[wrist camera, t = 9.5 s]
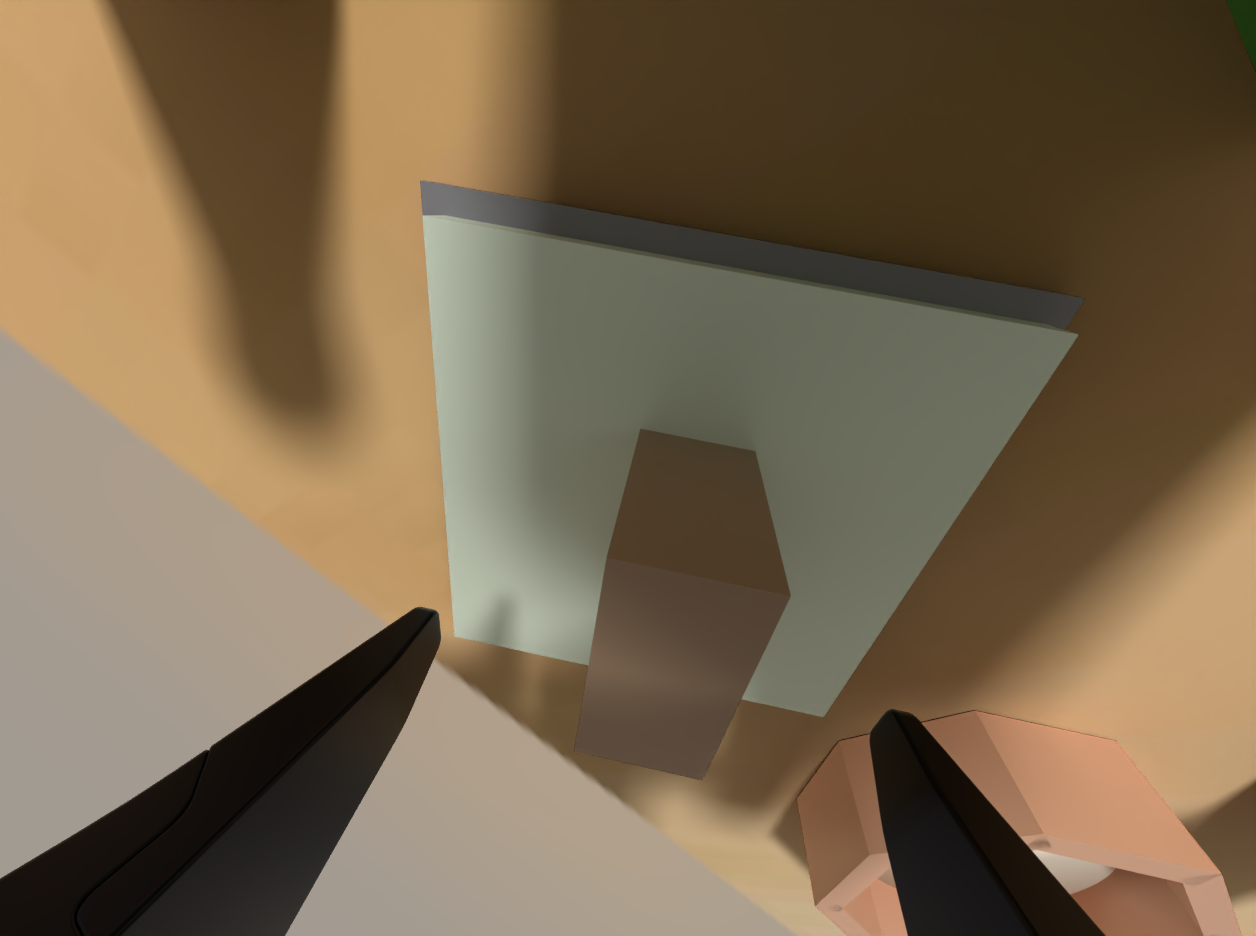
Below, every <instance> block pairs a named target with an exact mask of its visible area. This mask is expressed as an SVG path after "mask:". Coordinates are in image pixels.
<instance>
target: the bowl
mask: <svg viewBox="0 0 1256 936" xmlns="http://www.w3.org/2000/svg"><path fill="white" fill-rule="evenodd" d="M922 724H923V725H924V727H925V728H926V729H927V730H928V731H929V732H930V733H931V735H932V736H933V737H934V738H935V739H936V740H937V741H938V743H939V744H940V745H941V746H942V747H943V748H944V750H945V751H946V752H947V753H948V754H949V755H950V756H951V758H952V759H953V760H954V761H955V762H956V763H957V765H958V766H959V767H960V768H961V769H962V770H963V771H964V773H965V774H966V775H967V776H968V777H969V778H970V780H971V781H972V782H973V783H974V784H975V785H976V786H977V788H978V789H979V790H980V791H981V792H982V793H983V795H984V796H985V797H986V798H987V799H988V800H989V801H990V803H991V804H992V805H993V806H994V807H995V808H996V810H997V811H998V812H999V813H1000V814H1001V815H1002V816H1003V818H1004V819H1005V820H1006V821H1007V822H1008V823H1009V824H1010V826H1011V827H1012V828H1013V829H1014V830H1015V831H1016V833H1017V834H1018V835H1019V836H1020V837H1021V838H1022V839H1023V841H1024V842H1025V843H1026V844H1027V845H1028V846H1029V848H1030V849H1031V850H1032V851H1033V852H1034V853H1035V854H1036V856H1037V857H1038V858H1039V859H1040V860H1041V861H1042V863H1043V864H1044V865H1045V866H1046V867H1047V868H1048V869H1049V871H1050V872H1051V873H1052V874H1053V875H1054V876H1055V878H1056V879H1057V880H1058V881H1059V882H1060V883H1061V884H1062V886H1063V887H1064V888H1065V889H1066V890H1067V891H1068V893H1069V894H1070V895H1071V896H1072V897H1073V898H1074V899H1075V901H1076V902H1077V903H1078V904H1079V905H1080V906H1081V908H1082V909H1083V910H1084V911H1085V912H1086V913H1087V914H1088V916H1089V917H1090V918H1091V919H1092V920H1093V921H1094V922H1095V924H1096V925H1097V926H1098V927H1099V928H1100V929H1101V931H1102V932H1103V933H1104V934H1105V935H1106V936H1242V934H1241V931H1240V928H1239V924H1238V921H1237V918H1236V915H1235V912H1234V909H1233V906H1232V903H1231V900H1230V897H1229V894H1228V891H1227V888H1226V885H1225V882H1224V879H1223V876H1222V873H1221V872H1220V871H1219V870H1218V868H1217V867H1216V866H1215V865H1214V863H1213V862H1212V861H1211V859H1210V858H1209V857H1208V856H1207V854H1206V853H1205V852H1204V851H1203V849H1202V848H1201V847H1200V846H1199V844H1198V843H1197V842H1196V841H1195V839H1194V838H1193V837H1192V836H1191V834H1190V833H1189V832H1188V831H1187V829H1186V828H1185V827H1184V826H1183V824H1182V823H1181V822H1180V820H1179V819H1178V818H1177V817H1176V815H1175V814H1174V813H1173V812H1172V810H1171V809H1170V808H1169V807H1168V805H1167V804H1166V803H1165V802H1164V800H1163V799H1162V798H1161V797H1160V795H1159V794H1158V793H1157V792H1156V790H1155V789H1154V788H1153V786H1152V785H1151V784H1150V783H1149V781H1148V780H1147V779H1146V778H1145V776H1144V775H1143V774H1142V773H1141V771H1140V770H1139V769H1138V768H1137V766H1136V765H1135V764H1134V763H1133V761H1132V760H1131V759H1130V758H1129V756H1128V755H1127V754H1126V753H1125V751H1124V750H1123V749H1122V747H1121V746H1120V745H1119V744H1118V742H1117V741H1113V740H1109V739H1104V738H1100V737H1095V736H1090V735H1086V734H1081V733H1076V732H1072V731H1067V730H1062V729H1058V728H1053V727H1049V726H1044V725H1039V724H1035V723H1030V722H1025V721H1021V720H1016V719H1011V718H1007V717H1002V716H998V715H993V714H988V713H984V712H979V711H971V712H966V713H962V714H958V715H953V716H949V717H944V718H940V719H935V720H931V721H926V722H922ZM869 738H870V734H869V735H864V736H860V737H855V738H851V739H846V740H842V741H839V742H838V743H837V745H836V746H835V747H834V749H833V750H832V751H831V753H830V754H829V756H828V757H827V758H826V760H825V761H824V762H823V764H822V765H821V766H820V768H819V769H818V771H817V772H816V773H815V775H814V776H813V777H812V779H811V780H810V781H809V783H808V784H807V786H806V787H805V788H804V790H803V791H802V792H801V794H800V795H799V796H798V798H797V803H798V809H799V815H800V821H801V827H802V833H803V838H804V844H805V850H806V856H807V862H808V868H809V874H810V880H811V885H812V891H813V897H814V903H815V907H816V908H817V909H819V910H820V911H821V912H822V913H823V914H824V915H825V916H826V917H827V918H828V919H829V920H831V921H832V922H833V923H834V924H835V925H836V926H837V927H838V928H839V929H840V930H841V931H843V932H844V933H845V934H846V935H847V936H908V935H907V931H906V927H905V923H904V919H903V914H902V910H901V906H900V902H899V898H898V894H897V890H896V886H895V882H894V877H893V873H892V869H891V865H890V861H889V857H888V853H887V849H886V844H885V840H884V835H883V830H882V824H881V818H880V812H879V805H878V798H877V791H876V785H875V778H874V771H873V764H872V757H871V751H870V743H869Z"/></svg>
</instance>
